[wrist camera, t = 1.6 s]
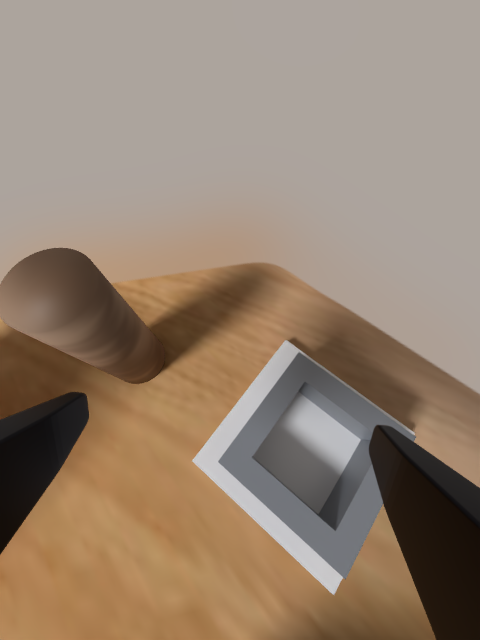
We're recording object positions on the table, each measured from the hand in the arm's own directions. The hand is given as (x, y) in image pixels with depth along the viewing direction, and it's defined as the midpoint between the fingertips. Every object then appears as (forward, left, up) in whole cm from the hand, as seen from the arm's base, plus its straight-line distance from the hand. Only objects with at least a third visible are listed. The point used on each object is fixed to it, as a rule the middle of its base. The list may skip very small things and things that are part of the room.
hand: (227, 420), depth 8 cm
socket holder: (+2, -5, -14) cm, 15 cm away
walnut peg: (-1, +10, -14) cm, 18 cm away
